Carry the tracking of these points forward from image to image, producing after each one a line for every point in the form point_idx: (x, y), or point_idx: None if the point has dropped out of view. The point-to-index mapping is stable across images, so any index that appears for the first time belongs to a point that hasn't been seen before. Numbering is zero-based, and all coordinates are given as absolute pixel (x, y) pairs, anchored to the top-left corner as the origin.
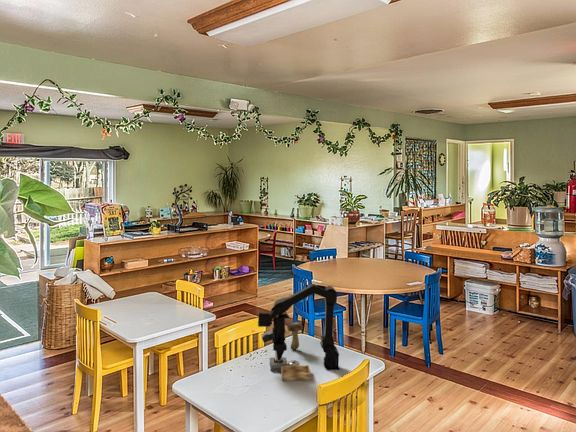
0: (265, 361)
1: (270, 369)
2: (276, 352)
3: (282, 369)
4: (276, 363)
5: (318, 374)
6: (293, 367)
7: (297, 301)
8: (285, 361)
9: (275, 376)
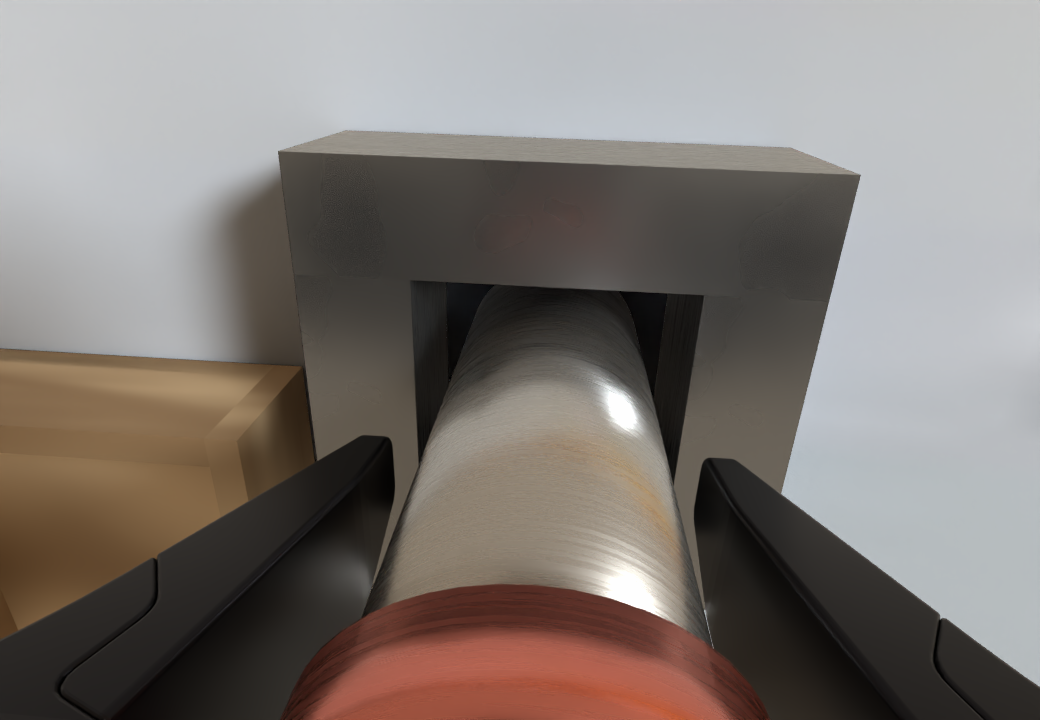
0: (987, 18)
1: (384, 133)
2: (404, 562)
3: (15, 443)
4: (374, 341)
5: None
6: None
7: None
8: None
9: (57, 224)
